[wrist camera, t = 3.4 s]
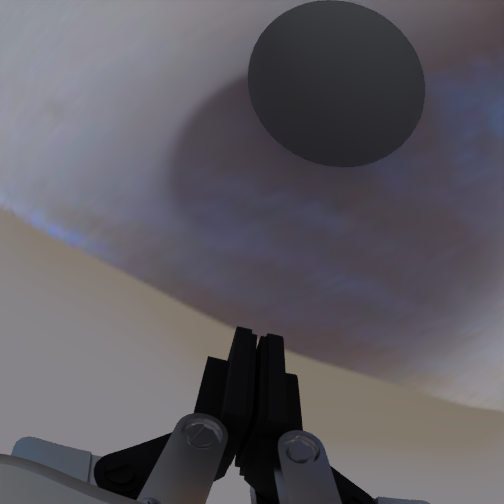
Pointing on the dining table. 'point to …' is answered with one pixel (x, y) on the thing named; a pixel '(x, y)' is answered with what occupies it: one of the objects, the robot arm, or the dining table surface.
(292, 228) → the dining table surface
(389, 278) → the dining table surface
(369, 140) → the dark grey ball
